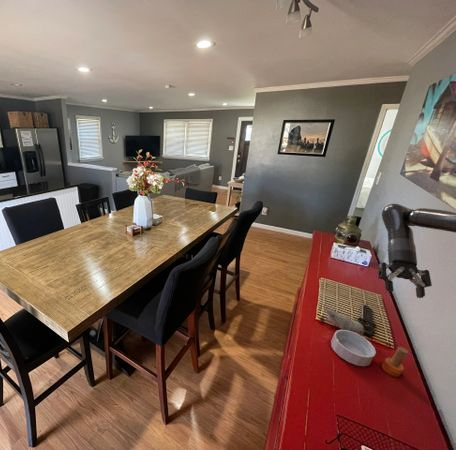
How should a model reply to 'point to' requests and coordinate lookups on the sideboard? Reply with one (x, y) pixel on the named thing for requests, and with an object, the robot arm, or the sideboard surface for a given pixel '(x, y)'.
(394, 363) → the brush
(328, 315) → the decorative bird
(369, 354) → the bowl
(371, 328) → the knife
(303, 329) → the sideboard surface
